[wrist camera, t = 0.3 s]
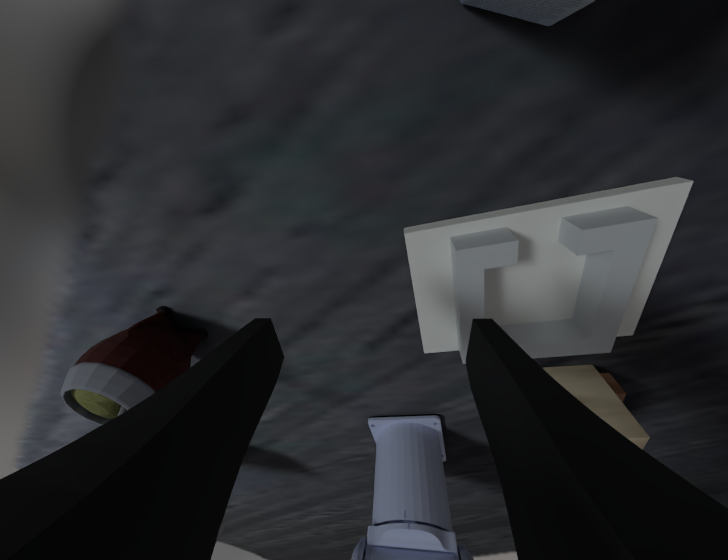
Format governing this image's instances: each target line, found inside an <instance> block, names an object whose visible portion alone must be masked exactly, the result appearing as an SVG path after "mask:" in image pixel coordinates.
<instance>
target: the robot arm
mask: <svg viewBox="0 0 728 560" xmlns="http://www.w3.org/2000/svg"><path fill="white" fill-rule="evenodd" d="M283 359H284V355H283V352H282V349H281V346H280V343H279V341H278V338H277V335H276V332H275V329H274V326H273V324H272V321H271V318H255V319H254V320H252V321H251V322H250V323H248V324H247V325H246V326H244V327H243V328H242V329H240V330H239V331H238V332H236V333H235V334H234V335H233V336H231V337H230V338H229V339H228V340H226V341H225V342H224V343H222V344H221V345H220V346H219V347H217V348H216V349H215V350H213V351H212V352H211V353H209V354H208V355H207V356H206V357H204V358H203V359H202V360H200V361H199V362H198V363H196V364H195V365H193V366H192V367H191V368H189V369H188V370H187V371H185V372H184V373H182V374H181V375H180V376H178V377H177V378H176V379H174V380H173V381H171V382H170V383H169V384H167V385H166V386H164V387H163V388H161V389H160V390H158V391H157V392H155V393H154V394H152V395H151V396H149V397H148V398H146V399H145V400H143V401H141V402H140V403H138V404H137V405H135V406H134V407H132V408H130V409H129V410H127V411H126V412H124V413H122V414H121V415H119V416H117V417H115V418H114V419H112V420H110V421H109V422H107V423H105V424H103V425H102V426H100V427H98V428H96V429H95V430H93V431H91V432H89V433H88V434H86V435H84V436H82V437H81V438H79V439H77V440H76V441H74V442H72V443H70V444H68V445H66V446H64V447H63V448H61V449H59V450H57V451H55V452H53V453H51V454H49V455H48V456H46V457H44V458H42V459H40V460H38V461H36V462H34V463H32V464H30V465H28V466H26V467H24V468H22V469H20V470H18V471H16V472H15V473H13V474H10V475H8V476H6V477H4V478H2V479H0V560H211V556H212V553H213V550H214V546H215V543H216V539H217V536H218V533H219V529H220V526H221V523H222V520H223V517H224V513H225V510H226V507H227V504H228V501H229V498H230V495H231V492H232V489H233V486H234V483H235V480H236V477H237V474H238V472H239V469H240V466H241V463H242V460H243V457H244V455H245V453H246V450H247V448H248V445H249V443H250V441H251V438H252V436H253V434H254V432H255V430H256V427H257V425H258V423H259V421H260V418H261V416H262V414H263V412H264V410H265V407H266V405H267V403H268V401H269V398H270V396H271V394H272V392H273V389H274V387H275V385H276V382H277V379H278V376H279V373H280V370H281V366H282V363H283ZM465 361H466V366H467V371H468V376H469V381H470V386H471V390H472V393H473V396H474V400H475V403H476V406H477V409H478V412H479V415H480V418H481V421H482V424H483V427H484V430H485V433H486V436H487V439H488V442H489V445H490V448H491V451H492V454H493V457H494V461H495V464H496V467H497V471H498V474H499V478H500V482H501V486H502V490H503V495H504V499H505V503H506V507H507V512H508V516H509V520H510V525H511V529H512V534H513V538H514V543H515V547H516V552H517V556H518V560H728V509H727V508H726V507H724V506H723V505H721V504H720V503H719V502H717V501H716V500H714V499H713V498H711V497H710V496H708V495H707V494H705V493H704V492H702V491H701V490H699V489H698V488H696V487H695V486H693V485H692V484H690V483H689V482H688V481H686V480H685V479H683V478H682V477H680V476H679V475H678V474H676V473H675V472H673V471H672V470H670V469H669V468H668V467H666V466H665V465H663V464H662V463H660V462H659V461H658V460H656V459H655V458H653V457H652V456H650V455H649V454H648V453H646V452H645V451H644V450H642V449H641V448H640V447H638V446H637V445H635V444H634V443H633V442H631V441H630V440H629V439H627V438H626V437H625V436H623V435H622V434H621V433H620V432H618V431H617V430H616V429H614V428H613V427H612V426H610V425H609V424H608V423H607V422H605V421H604V420H603V419H601V418H600V417H599V416H598V415H596V414H595V413H594V412H593V411H591V410H590V409H589V408H588V407H586V406H585V405H584V404H583V403H582V402H580V401H579V400H578V399H577V398H576V397H575V396H573V395H572V394H571V393H570V392H569V391H568V390H566V389H565V388H564V387H563V386H562V385H561V384H559V383H558V382H557V381H556V380H555V379H554V378H553V377H552V376H550V375H549V374H548V373H547V372H546V371H545V370H544V369H543V368H542V367H541V366H540V365H539V364H538V363H537V362H535V361H534V360H533V359H532V358H531V357H530V356H529V355H528V354H527V353H526V352H525V351H524V350H523V349H522V348H521V347H520V346H519V345H518V344H517V343H516V342H515V341H514V340H513V339H512V338H511V337H510V336H509V335H508V334H507V333H506V332H505V331H504V330H503V329H502V328H501V327H500V326H499V325H498V324H497V323H496V322H495V321H494V320H493V319H473V320H472V326H471V332H470V337H469V343H468V349H467V354H466V360H465ZM368 425H369V427H370V429H371V432H372V434H373V437H374V439H375V442H376V444H377V447H376V466H375V484H374V503H373V521H372V526H368V536H367V537H362V538H361V539H360V541H359V543H358V544H357V546H356V547H355V549H354V552H353V555H352V560H473V557H472V556H471V555H470V553H469V552H468V551H467V550H466V548H465V546H462V545H458V547H457V542H456V535H455V532H452V525H451V517H450V510H449V503H448V496H447V489H446V481H445V474H444V467H443V462H444V461H446V454H445V447H444V441H443V434H442V427H441V421H440V417H439V416H437V415H430V416H404V417H377V418H369V419H368Z"/></svg>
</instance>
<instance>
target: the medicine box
mask: <svg viewBox="0 0 728 560" xmlns="http://www.w3.org/2000/svg"><path fill="white" fill-rule="evenodd" d="M594 1H596V0H460V3H462V4H466V5H470V6H474V7H478V8H482V9H485V10H489V11H493V12H497V13H501V14H504V15H508V16H512V17H516V18H520V19H523V20H526V21H530V22H534V23H538V24H541V25H545V26H551V25H553V24H555V23H556V22H558V21H560V20H562V19H564V18H566V17H567V16H569V15H571V14H572V13H574V12H576V11H578V10H580V9H582V8H583V7H585V6H587V5H589V4H590V3H592V2H594Z"/></svg>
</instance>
